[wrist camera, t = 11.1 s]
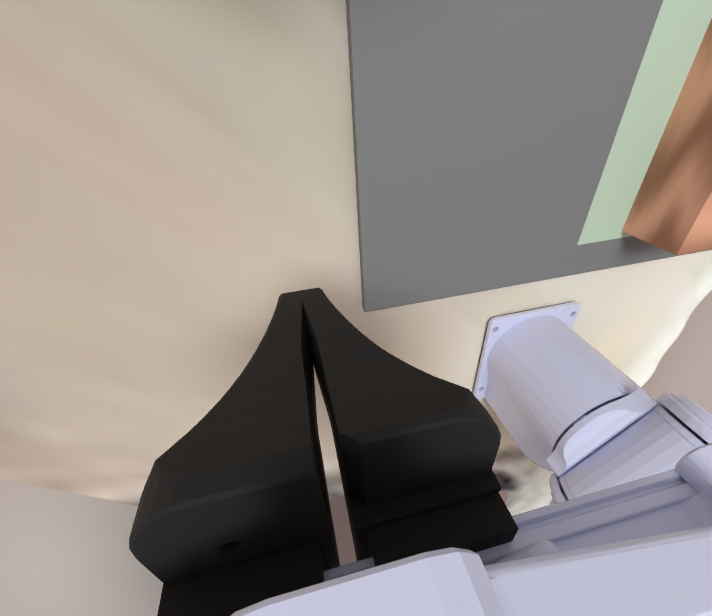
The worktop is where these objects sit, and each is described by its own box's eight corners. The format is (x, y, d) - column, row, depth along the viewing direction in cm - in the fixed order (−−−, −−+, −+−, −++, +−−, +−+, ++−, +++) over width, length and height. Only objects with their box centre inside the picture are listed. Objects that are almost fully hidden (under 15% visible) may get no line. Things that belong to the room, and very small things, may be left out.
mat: (711, 245, 28) (719, 248, 28) (362, 307, 24) (364, 312, 23) (905, -77, 18) (923, -81, 17) (342, -72, 13) (345, -77, 13)
